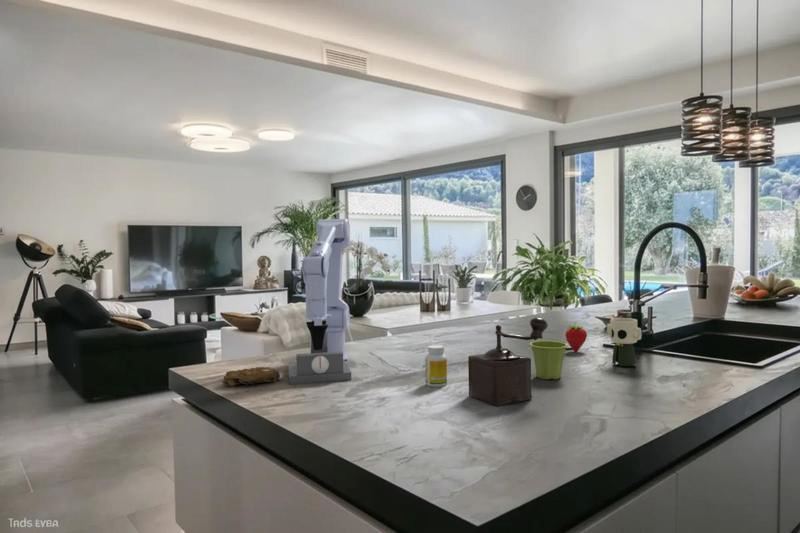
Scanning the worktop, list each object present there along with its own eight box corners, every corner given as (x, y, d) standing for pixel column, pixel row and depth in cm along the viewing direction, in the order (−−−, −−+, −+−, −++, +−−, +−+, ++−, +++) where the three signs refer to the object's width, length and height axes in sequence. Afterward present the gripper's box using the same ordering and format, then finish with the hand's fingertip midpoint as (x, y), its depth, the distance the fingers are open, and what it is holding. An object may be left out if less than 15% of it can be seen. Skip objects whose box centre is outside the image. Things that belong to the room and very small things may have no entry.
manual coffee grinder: (497, 407, 116) (496, 323, 115) (467, 395, 126) (466, 318, 125) (552, 397, 123) (551, 317, 123) (519, 386, 133) (518, 313, 132)
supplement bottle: (421, 384, 137) (420, 346, 136) (436, 380, 140) (436, 343, 140) (436, 388, 133) (435, 349, 132) (451, 384, 136) (451, 346, 136)
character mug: (599, 363, 156) (599, 318, 155) (615, 360, 159) (615, 316, 159) (632, 371, 146) (632, 322, 146) (649, 367, 150) (649, 320, 149)
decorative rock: (234, 394, 133) (287, 385, 143) (234, 378, 133) (287, 369, 143) (213, 384, 141) (265, 376, 152) (213, 368, 141) (265, 361, 151)
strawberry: (591, 351, 174) (591, 320, 173) (576, 354, 169) (575, 322, 169) (576, 348, 178) (576, 318, 178) (561, 351, 174) (560, 320, 174)
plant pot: (574, 376, 142) (573, 343, 141) (556, 383, 135) (556, 348, 135) (541, 371, 148) (541, 339, 148) (523, 377, 141) (523, 344, 141)
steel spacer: (310, 353, 154) (309, 332, 153) (326, 352, 155) (326, 331, 154) (311, 356, 149) (310, 334, 149) (327, 355, 150) (327, 334, 150)
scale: (288, 369, 157) (287, 345, 157) (344, 365, 160) (343, 341, 160) (289, 384, 140) (288, 357, 139) (351, 379, 143) (350, 353, 143)
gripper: (332, 301, 145) (334, 352, 145) (328, 296, 159) (329, 342, 160) (306, 302, 144) (307, 353, 144) (304, 297, 158) (305, 344, 158)
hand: (317, 348), depth 152 cm, fingers closed on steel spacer, 4 cm apart
